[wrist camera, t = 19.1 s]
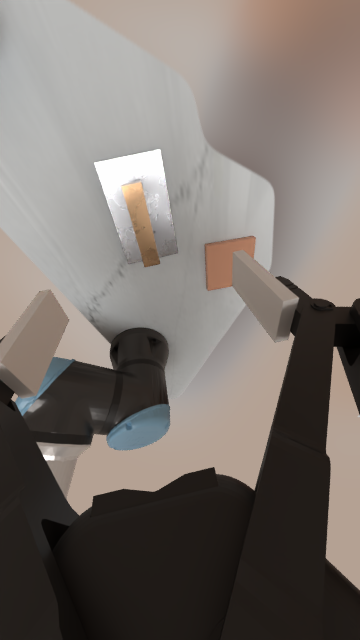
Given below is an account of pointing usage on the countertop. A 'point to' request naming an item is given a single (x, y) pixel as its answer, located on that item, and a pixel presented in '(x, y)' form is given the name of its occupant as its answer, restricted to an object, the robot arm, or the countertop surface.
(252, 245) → the tile
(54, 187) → the countertop surface
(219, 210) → the countertop surface
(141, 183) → the trowel
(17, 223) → the countertop surface
